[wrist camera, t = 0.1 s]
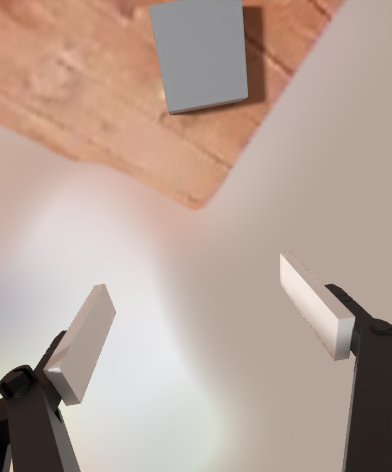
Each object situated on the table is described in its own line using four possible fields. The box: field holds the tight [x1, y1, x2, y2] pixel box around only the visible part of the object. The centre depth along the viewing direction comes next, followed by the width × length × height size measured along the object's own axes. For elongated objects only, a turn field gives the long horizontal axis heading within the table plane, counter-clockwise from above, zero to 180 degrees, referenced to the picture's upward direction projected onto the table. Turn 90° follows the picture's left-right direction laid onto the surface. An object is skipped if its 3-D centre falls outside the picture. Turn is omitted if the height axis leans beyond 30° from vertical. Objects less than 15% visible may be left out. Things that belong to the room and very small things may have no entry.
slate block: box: [148, 0, 248, 115], centre depth 33 cm, size 12×12×4 cm
